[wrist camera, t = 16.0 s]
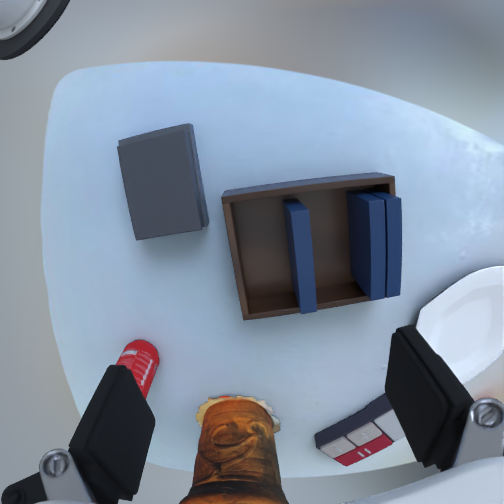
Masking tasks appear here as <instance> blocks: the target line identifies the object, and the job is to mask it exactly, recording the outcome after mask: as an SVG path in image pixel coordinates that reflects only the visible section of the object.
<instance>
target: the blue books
mask: <svg viewBox="0 0 504 504" xmlns="http://www.w3.org/2000/svg"><path fill="white" fill-rule="evenodd" d="M346 197H347V209H348V223H349V241H350V264H351V275H352V277H353V278H354V279H355V281H356V282H357V283H358V285H359V286H360V287H361V289H362V290H363V291H364V293H365V294H366V295H367V297H368V298H369V299H370V301H373V300H378V299H383V298H385V296H386V298H389V297H394V296H398V295H400V288H401V265H402V209H401V198H399V197H396V196H394V195H391V194H388V193H385V192H383V191H380V190H377V189H374V188H371V189H362V190H361V191H360V190H352V191H346Z"/></svg>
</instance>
